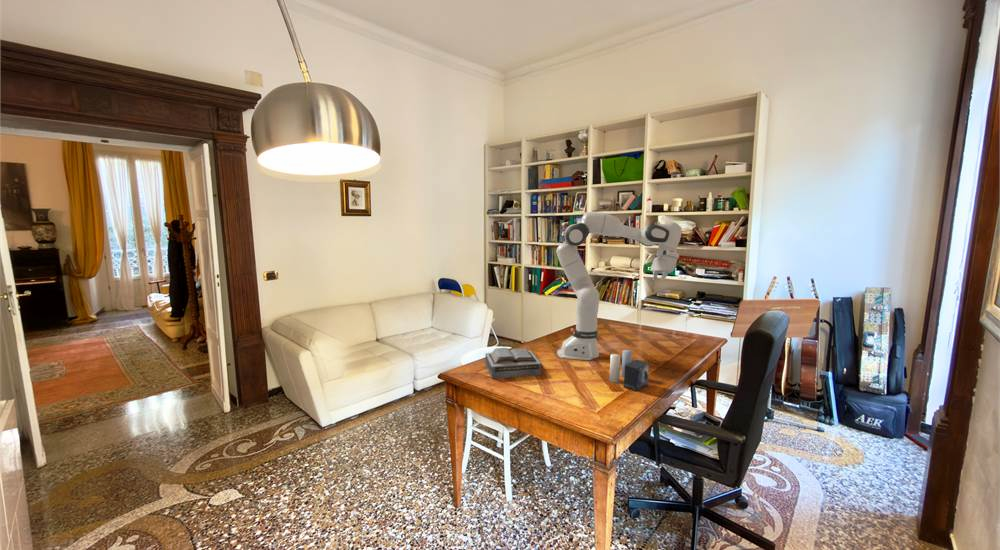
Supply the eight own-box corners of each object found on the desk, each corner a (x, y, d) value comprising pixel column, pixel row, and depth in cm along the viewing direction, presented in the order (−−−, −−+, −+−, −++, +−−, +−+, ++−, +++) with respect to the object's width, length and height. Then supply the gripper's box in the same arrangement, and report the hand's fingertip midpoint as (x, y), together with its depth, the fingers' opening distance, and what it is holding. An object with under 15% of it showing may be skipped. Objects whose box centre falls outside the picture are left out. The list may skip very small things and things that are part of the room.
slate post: (622, 377, 186) (623, 352, 184) (620, 374, 190) (621, 349, 189) (632, 377, 186) (633, 352, 184) (629, 374, 190) (630, 349, 189)
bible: (485, 362, 208) (485, 343, 207) (537, 362, 208) (537, 343, 207) (484, 379, 185) (483, 359, 184) (542, 379, 185) (542, 359, 184)
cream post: (610, 382, 180) (611, 356, 179) (608, 378, 185) (609, 353, 183) (620, 382, 180) (621, 356, 179) (618, 378, 184) (619, 353, 183)
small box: (636, 392, 170) (637, 368, 169) (622, 387, 175) (623, 364, 174) (649, 385, 177) (650, 362, 176) (635, 381, 182) (636, 358, 181)
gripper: (651, 253, 213) (644, 278, 213) (668, 251, 193) (660, 278, 193) (663, 256, 213) (655, 281, 213) (681, 254, 193) (673, 282, 193)
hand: (658, 280), depth 203 cm, fingers open, 8 cm apart
